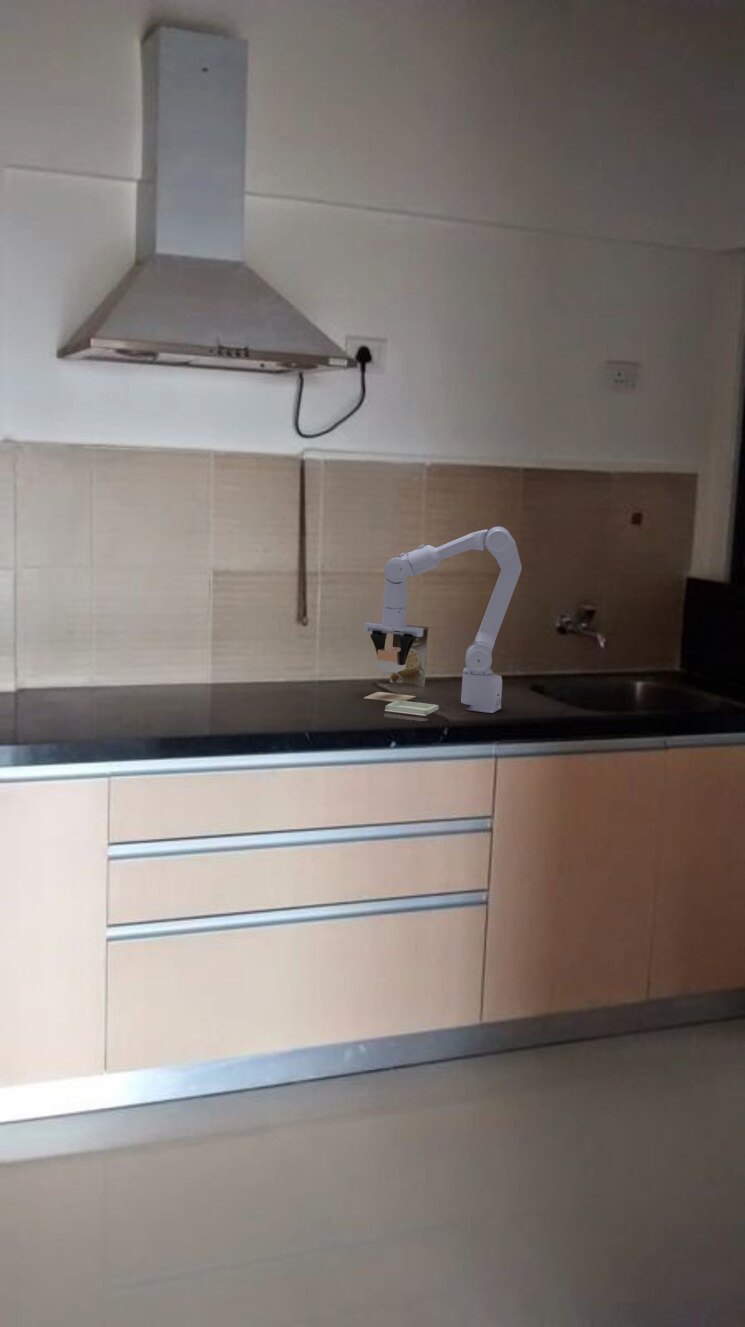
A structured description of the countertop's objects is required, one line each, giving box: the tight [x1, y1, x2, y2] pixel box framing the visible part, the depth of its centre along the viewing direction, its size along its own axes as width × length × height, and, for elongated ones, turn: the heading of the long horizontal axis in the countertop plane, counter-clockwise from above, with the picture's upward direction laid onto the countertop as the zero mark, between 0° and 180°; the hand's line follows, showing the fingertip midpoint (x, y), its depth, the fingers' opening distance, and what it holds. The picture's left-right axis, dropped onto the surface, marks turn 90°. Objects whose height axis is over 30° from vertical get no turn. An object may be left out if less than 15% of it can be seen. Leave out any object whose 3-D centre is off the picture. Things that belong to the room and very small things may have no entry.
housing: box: [376, 646, 407, 673], centre depth 320 cm, size 5×7×5 cm
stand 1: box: [363, 691, 417, 703], centre depth 322 cm, size 10×10×2 cm
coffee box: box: [389, 624, 429, 687], centre depth 344 cm, size 9×6×16 cm
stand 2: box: [383, 700, 440, 722], centre depth 307 cm, size 10×10×2 cm
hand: (391, 663), depth 321 cm, fingers closed on housing, 5 cm apart
